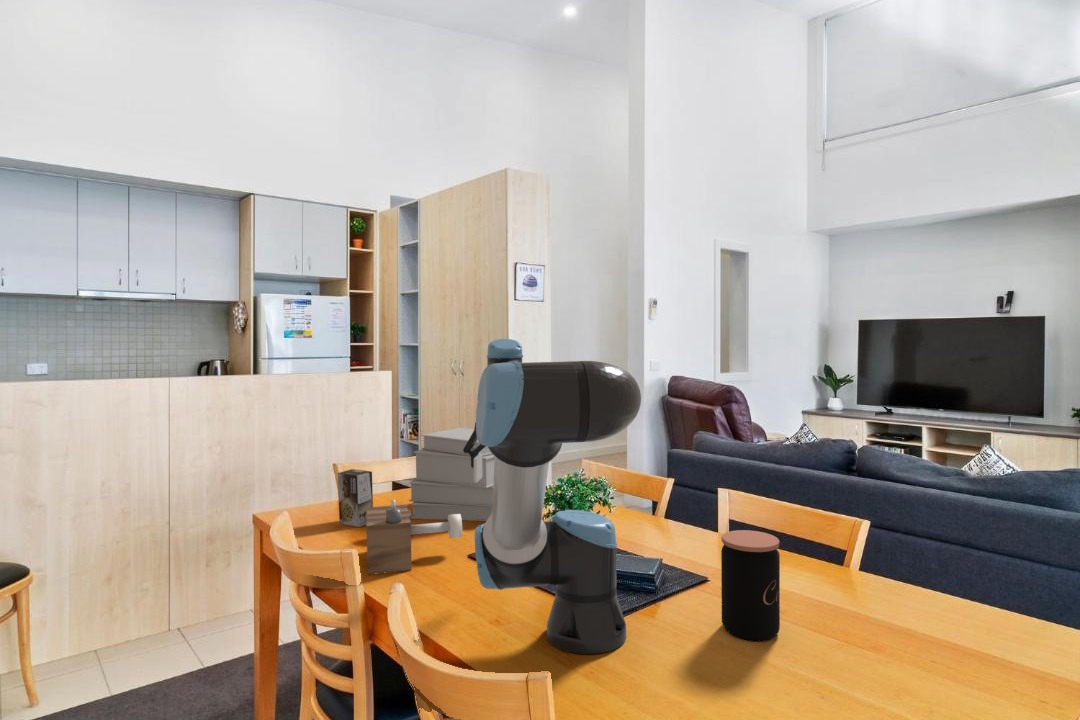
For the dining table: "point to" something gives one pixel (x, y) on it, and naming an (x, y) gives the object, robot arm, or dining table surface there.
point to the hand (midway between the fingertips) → (503, 487)
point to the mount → (388, 541)
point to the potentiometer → (393, 514)
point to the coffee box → (354, 496)
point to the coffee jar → (750, 585)
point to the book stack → (451, 479)
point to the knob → (441, 527)
